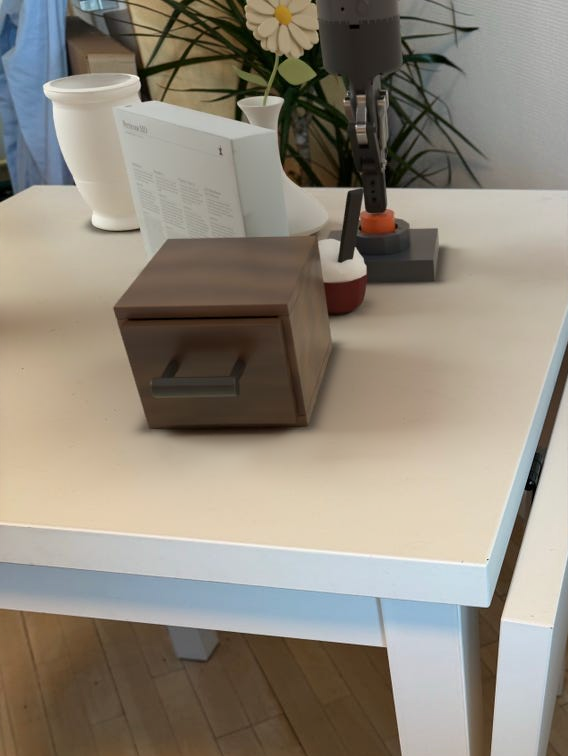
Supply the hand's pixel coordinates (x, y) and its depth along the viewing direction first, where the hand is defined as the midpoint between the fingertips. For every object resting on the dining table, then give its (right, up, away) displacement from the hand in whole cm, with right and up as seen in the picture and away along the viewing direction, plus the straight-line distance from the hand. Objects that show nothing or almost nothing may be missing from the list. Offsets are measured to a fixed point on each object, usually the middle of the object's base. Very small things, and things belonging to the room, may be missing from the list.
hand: (376, 210), depth 94 cm
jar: (-33, +7, +17) cm, 38 cm away
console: (0, -4, +4) cm, 6 cm away
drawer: (-9, -25, -20) cm, 34 cm away
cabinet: (-9, -23, -17) cm, 30 cm away
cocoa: (-3, -12, -5) cm, 14 cm away
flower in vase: (-12, +3, +12) cm, 17 cm away
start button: (0, -1, +1) cm, 2 cm away
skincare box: (-16, -8, 0) cm, 18 cm away
